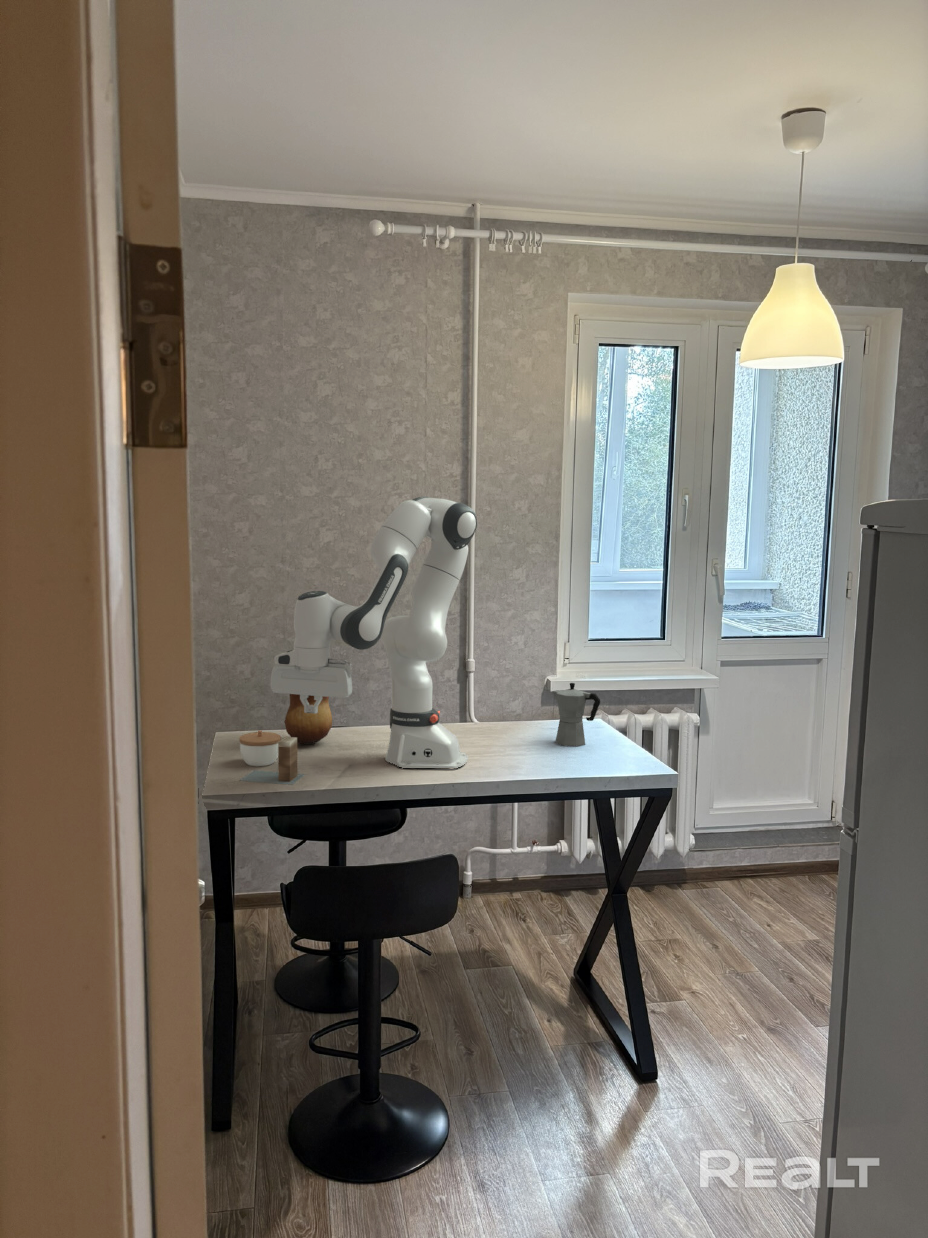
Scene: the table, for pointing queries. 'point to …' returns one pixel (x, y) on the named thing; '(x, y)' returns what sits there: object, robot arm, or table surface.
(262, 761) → the lidded jar
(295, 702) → the butternut squash
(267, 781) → the slate mat
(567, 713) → the coffeepot
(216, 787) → the table surface
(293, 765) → the brown and white block
